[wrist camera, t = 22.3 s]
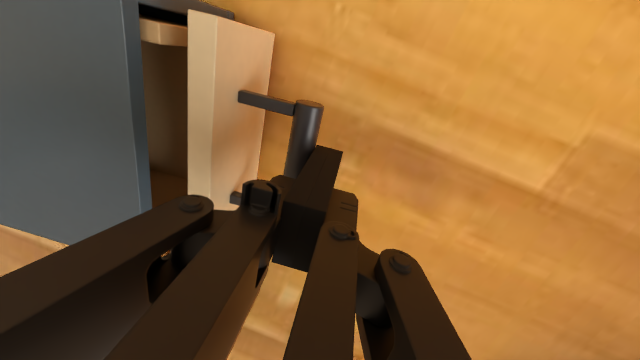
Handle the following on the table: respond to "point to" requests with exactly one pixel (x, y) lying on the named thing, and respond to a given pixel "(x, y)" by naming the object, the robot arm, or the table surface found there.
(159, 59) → the drawer
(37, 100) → the cabinet
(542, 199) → the table surface
